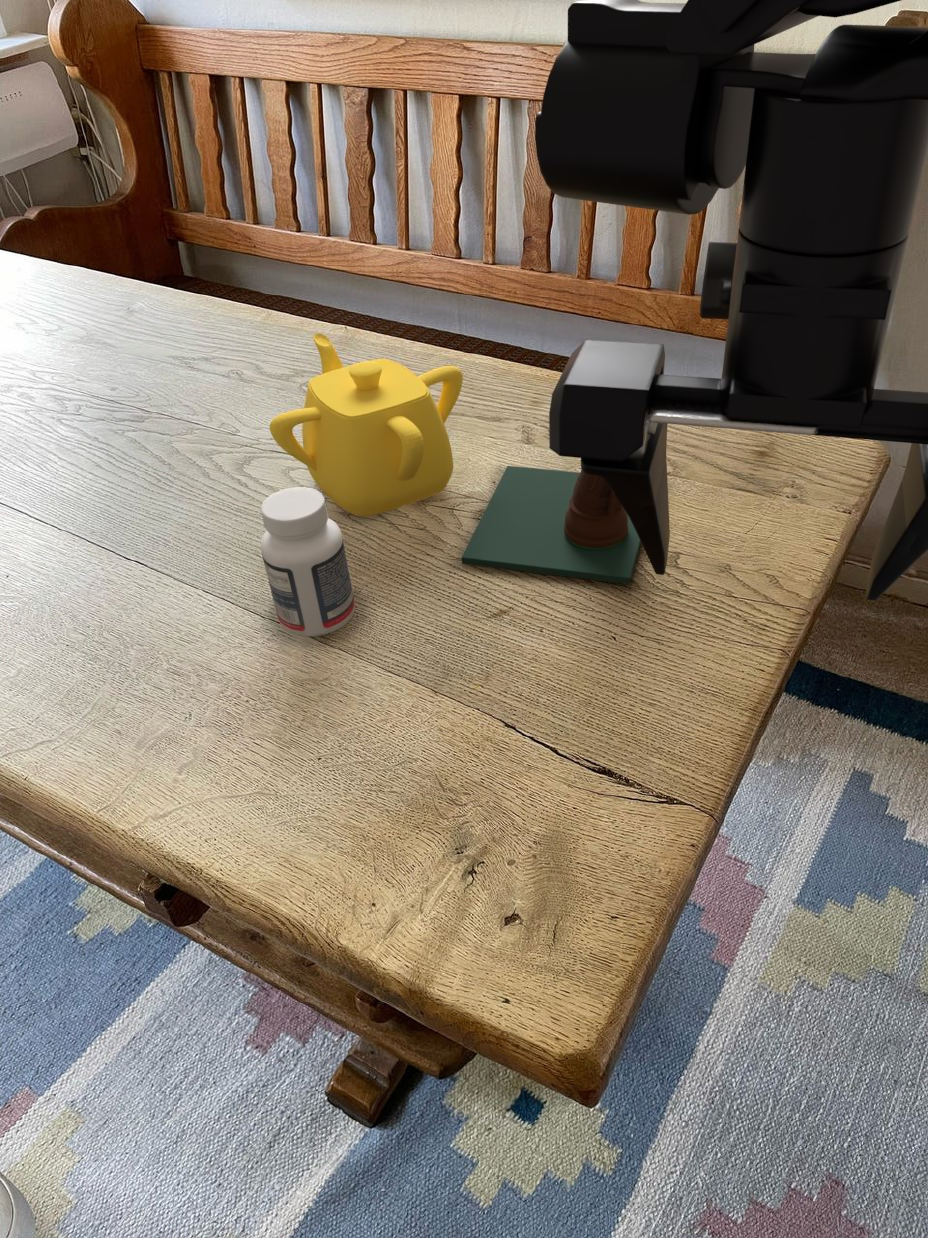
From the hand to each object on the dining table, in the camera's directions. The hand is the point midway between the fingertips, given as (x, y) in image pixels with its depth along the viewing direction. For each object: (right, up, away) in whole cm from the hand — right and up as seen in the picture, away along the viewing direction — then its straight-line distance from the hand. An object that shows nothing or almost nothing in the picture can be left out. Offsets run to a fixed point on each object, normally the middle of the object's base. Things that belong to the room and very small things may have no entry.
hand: (763, 581), depth 44 cm
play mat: (-6, +5, +28) cm, 29 cm away
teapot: (-21, +9, +34) cm, 41 cm away
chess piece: (-4, +4, +26) cm, 26 cm away
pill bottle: (-24, -2, +21) cm, 32 cm away
